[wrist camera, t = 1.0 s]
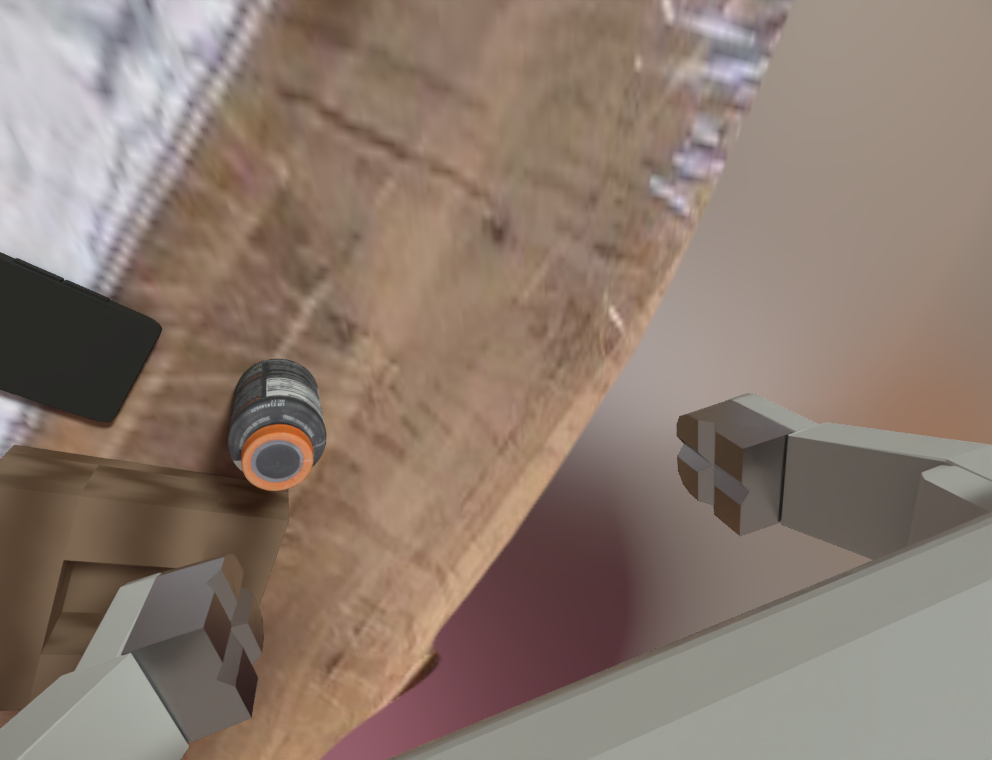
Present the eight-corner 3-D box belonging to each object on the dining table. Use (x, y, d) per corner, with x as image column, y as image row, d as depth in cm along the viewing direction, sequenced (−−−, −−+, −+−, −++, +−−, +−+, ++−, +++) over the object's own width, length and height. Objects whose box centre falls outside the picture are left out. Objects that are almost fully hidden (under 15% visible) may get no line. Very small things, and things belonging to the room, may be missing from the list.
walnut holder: (-29, 652, 39) (-68, 712, 34) (14, 444, 35) (-24, 483, 30) (230, 653, 47) (225, 702, 43) (288, 485, 43) (288, 520, 39)
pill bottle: (259, 438, 41) (252, 523, 31) (220, 375, 38) (199, 446, 28) (330, 407, 42) (345, 479, 32) (298, 344, 39) (303, 402, 30)
